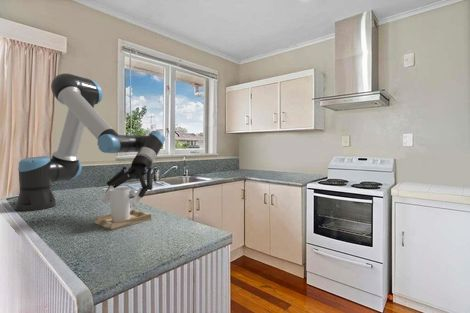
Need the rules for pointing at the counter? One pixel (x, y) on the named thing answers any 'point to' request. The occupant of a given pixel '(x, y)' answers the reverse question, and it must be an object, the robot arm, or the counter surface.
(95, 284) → the counter surface
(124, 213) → the mug
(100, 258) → the counter surface
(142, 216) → the keeper tray
